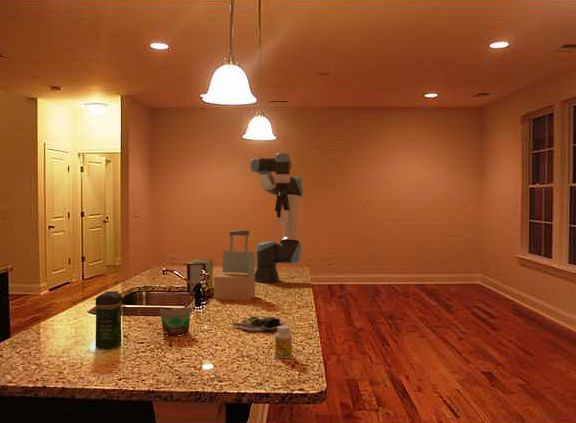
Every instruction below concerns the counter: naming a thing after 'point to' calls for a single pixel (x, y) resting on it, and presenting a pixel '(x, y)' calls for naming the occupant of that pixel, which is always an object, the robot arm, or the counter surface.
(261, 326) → the salad plate
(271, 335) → the counter surface
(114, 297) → the coffee jar
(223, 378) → the counter surface
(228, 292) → the carton
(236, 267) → the flap
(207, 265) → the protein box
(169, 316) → the food container
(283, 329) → the supplement bottle
